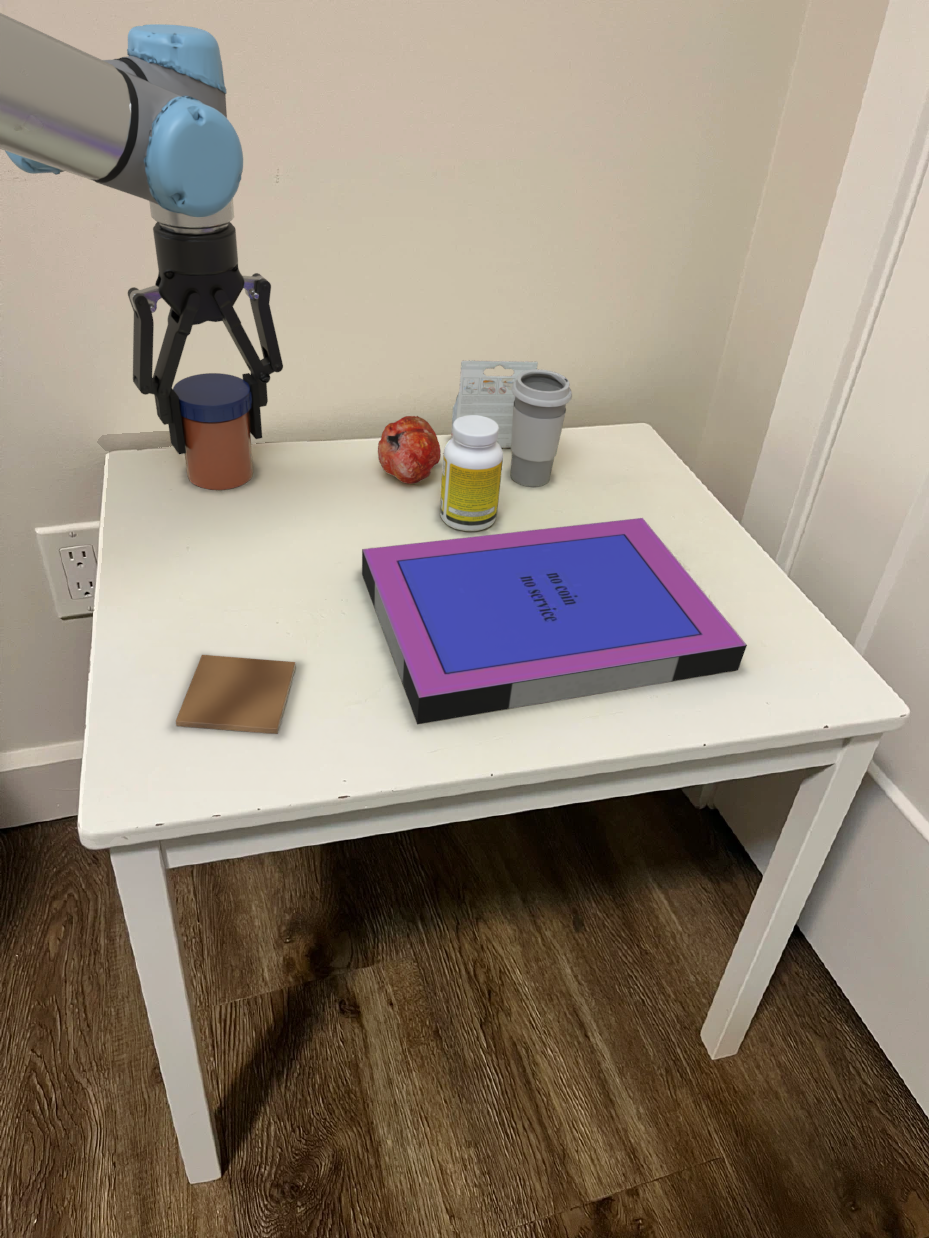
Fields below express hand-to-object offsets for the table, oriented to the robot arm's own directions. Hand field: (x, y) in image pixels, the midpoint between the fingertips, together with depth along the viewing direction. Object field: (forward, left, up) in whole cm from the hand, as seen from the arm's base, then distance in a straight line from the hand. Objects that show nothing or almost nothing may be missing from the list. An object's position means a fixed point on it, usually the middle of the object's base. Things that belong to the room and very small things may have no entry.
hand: (217, 440), depth 100 cm
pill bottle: (+28, -5, -4) cm, 29 cm away
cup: (+35, +5, -4) cm, 36 cm away
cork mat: (+10, -35, -4) cm, 37 cm away
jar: (0, 0, -4) cm, 4 cm away
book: (+36, -22, -4) cm, 42 cm away
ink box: (+30, +12, -4) cm, 33 cm away
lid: (0, 0, +6) cm, 6 cm away
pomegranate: (+21, +3, -4) cm, 22 cm away
